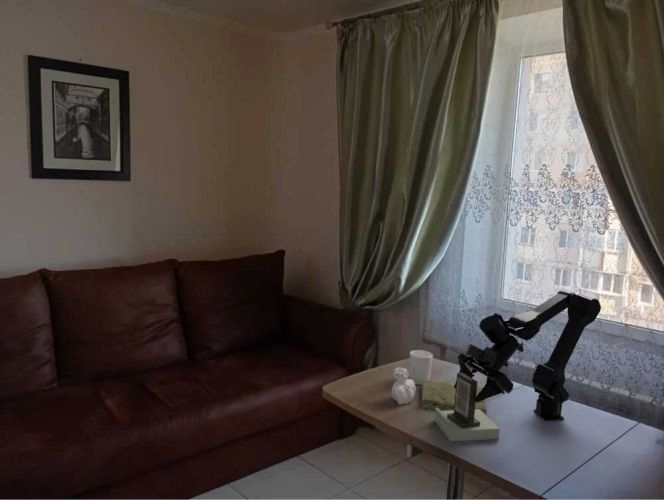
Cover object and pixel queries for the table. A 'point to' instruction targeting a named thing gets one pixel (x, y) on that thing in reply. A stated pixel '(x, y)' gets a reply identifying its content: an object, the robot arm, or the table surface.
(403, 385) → the bust
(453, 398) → the decorative tile
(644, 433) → the table surface
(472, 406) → the dark photo frame
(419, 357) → the white cup
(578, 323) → the robot arm
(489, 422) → the picture ledge
